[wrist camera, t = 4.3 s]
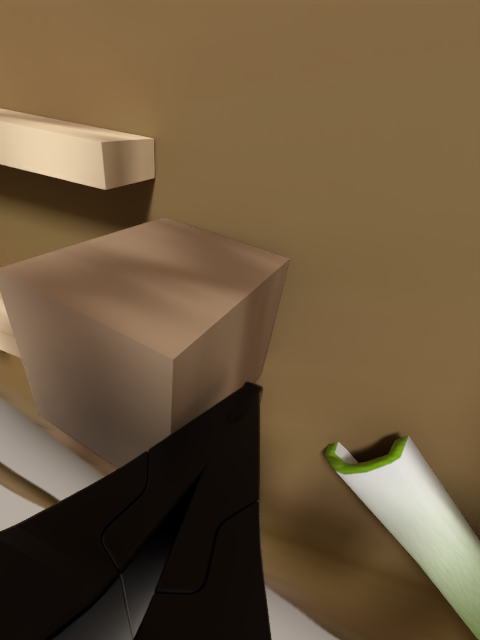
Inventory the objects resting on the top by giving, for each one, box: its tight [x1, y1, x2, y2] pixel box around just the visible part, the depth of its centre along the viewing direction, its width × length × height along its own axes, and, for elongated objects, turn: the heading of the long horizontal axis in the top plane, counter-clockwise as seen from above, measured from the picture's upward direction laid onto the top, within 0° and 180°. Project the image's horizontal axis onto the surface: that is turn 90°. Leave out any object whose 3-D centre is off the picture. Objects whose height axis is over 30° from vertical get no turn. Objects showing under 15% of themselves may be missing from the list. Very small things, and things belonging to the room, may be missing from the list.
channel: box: [0, 108, 155, 358], centre depth 13 cm, size 11×10×4 cm
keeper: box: [0, 217, 290, 469], centre depth 10 cm, size 5×5×6 cm
